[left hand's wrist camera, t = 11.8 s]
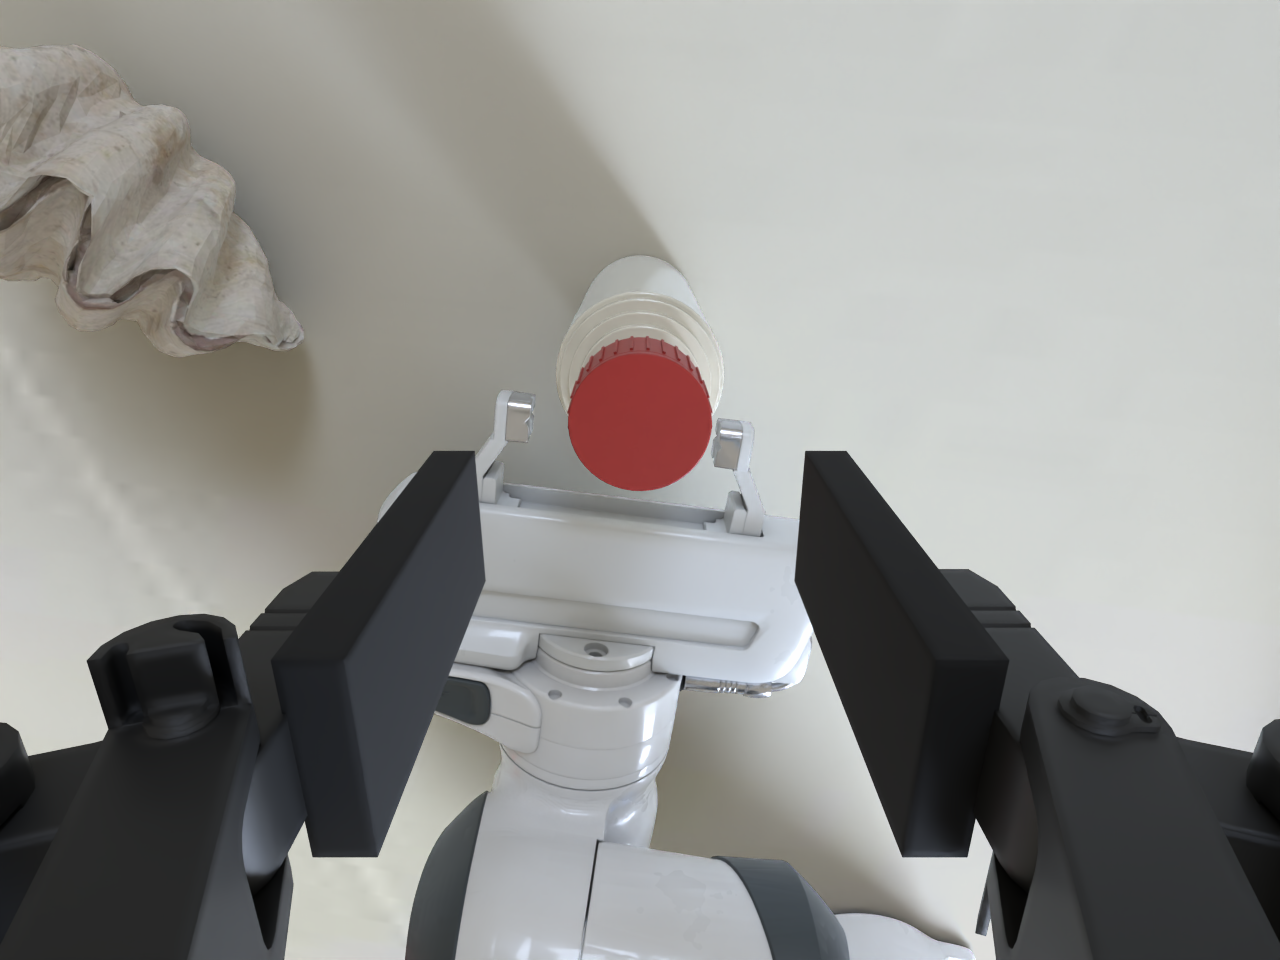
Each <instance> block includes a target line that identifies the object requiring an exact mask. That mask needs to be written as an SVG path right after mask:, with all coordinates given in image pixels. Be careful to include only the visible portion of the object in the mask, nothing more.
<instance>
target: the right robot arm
mask: <svg viewBox="0 0 1280 960" xmlns="http://www.w3.org/2000/svg"><path fill="white" fill-rule="evenodd" d="M535 400H536V395H535V394H529V393H522V392H515V391H510V390H501V392H500V393H499V395H498V396H497V401H496V406H495V418H494V432H493V433H492V434H491V436H490V437H489V438H488V440H487V441H486V443H485V444H484V445H483V447H482V448H481V449H480V451H479V452H478V454H477V455H476V456H475V461H476V473H477V485H478V496H479V508H480V520H481V531H482V543H483V555H484V567H485V578H486V581H485V584H484V587H483V589H482V592H481V594H480V597H479V599H478V602H477V604H476V607H475V610H474V612H473V615H472V617H471V620H470V622H469V625H468V627H467V630H466V633H465V635H464V638H463V640H462V643H461V645H460V648H459V650H458V653H457V656H456V658H455V661H454V663H453V666H452V668H451V671H450V673H449V676H448V679H447V681H446V684H445V686H444V689H443V691H442V694H441V696H440V699H439V702H438V704H437V707H436V709H435V712H434V714H436V715H439V716H442V717H444V718H447V719H449V720H452V721H454V722H457V723H459V724H462V725H464V726H466V727H469V728H471V729H473V730H475V731H478V732H480V733H482V734H484V735H486V736H488V737H490V738H492V739H494V740H495V741H497V742H499V745H500V750H501V763H500V764H499V766H498V769H497V771H496V773H495V776H494V780H493V785H492V789H491V792H488V791H486V792H484V793H482V794H481V795H480V796H478V797H477V798H476V799H474V800H473V801H472V802H471V803H470V804H469V805H468V806H467V807H466V808H465V809H464V810H463V811H462V812H461V813H460V814H459V815H458V816H457V817H456V818H455V819H454V820H453V821H452V822H451V823H450V824H449V825H448V826H447V827H446V828H445V830H444V831H443V832H442V834H441V835H440V837H439V838H438V840H437V842H436V843H435V845H434V847H433V849H432V851H431V853H430V855H429V857H428V859H427V862H426V864H425V867H424V869H423V872H422V875H421V878H420V881H419V884H418V888H417V891H416V895H415V899H414V903H413V907H412V912H411V917H410V923H409V930H408V937H407V946H406V956H405V960H975V957H974V954H973V952H972V951H971V950H970V949H968V948H966V947H963V946H959V945H956V944H951V943H946V942H941V941H937V940H935V939H932V938H931V937H929V936H927V935H926V934H924V933H923V932H921V931H920V930H918V929H916V928H915V927H913V926H911V925H909V924H907V923H905V922H902V921H899V920H897V919H893V918H890V917H886V916H881V915H875V914H864V913H847V914H837V915H834V914H833V912H832V911H831V910H830V908H829V907H828V906H827V904H826V903H825V902H824V900H823V899H822V898H821V897H820V896H819V894H818V893H817V892H816V891H815V890H814V889H813V888H812V887H811V885H810V884H809V883H808V882H807V881H806V880H805V879H804V878H803V877H802V876H801V875H800V874H799V873H798V872H797V871H796V870H795V869H794V868H793V867H792V866H791V865H790V864H789V863H787V862H786V861H783V860H771V859H755V858H739V857H725V856H714V857H711V858H705V857H699V856H692V855H686V854H680V853H674V852H668V851H661V850H655V849H649V846H650V842H651V838H652V834H653V829H654V824H655V819H656V814H657V806H658V793H657V786H656V781H655V778H656V776H657V774H658V772H659V771H660V769H661V767H662V765H663V764H664V761H665V759H666V756H667V753H668V750H669V744H670V740H671V735H672V729H673V724H674V719H675V713H676V708H677V703H678V696H679V691H681V690H689V691H698V692H707V693H723V692H724V693H735V694H743V696H746V697H751V698H766V697H770V695H771V692H773V691H780V690H783V689H786V688H789V687H791V686H792V685H794V684H797V683H799V682H800V681H801V679H802V678H803V676H804V674H805V671H806V667H807V664H808V660H809V656H810V652H811V648H812V637H811V634H812V632H813V627H812V625H811V622H810V620H809V617H808V615H807V612H806V610H805V607H804V604H803V602H802V599H801V597H800V594H799V592H798V589H797V587H796V584H795V581H794V578H795V567H796V555H797V543H798V531H799V520H800V519H794V518H786V517H778V516H770V515H765V510H764V507H763V504H762V502H761V499H760V496H759V493H758V491H757V488H756V485H755V483H754V480H753V477H752V475H751V472H750V469H749V463H750V458H751V453H752V448H753V443H754V428H753V426H752V424H751V422H745V421H738V420H729V419H721V418H718V420H717V423H716V428H715V431H716V435H717V436H716V437H715V438H714V439H713V444H712V450H711V455H712V458H713V463H714V466H715V467H720V468H726V469H733V472H734V475H735V478H736V480H737V483H738V485H739V488H740V491H741V494H740V493H739V492H737V491H730V492H729V493H728V498H727V503H726V508H725V510H722V509H714V508H706V507H698V506H690V505H682V504H674V503H666V502H658V501H650V500H642V499H634V498H626V497H618V496H610V495H602V494H594V493H586V492H578V491H570V490H562V489H554V488H546V487H538V486H530V485H522V484H514V483H506V482H503V479H504V463H503V462H500V461H494V460H495V459H496V458H497V456H498V455H499V453H500V452H501V451H502V449H503V448H504V447H505V445H506V444H507V442H508V441H515V442H525V443H527V442H528V440H529V438H530V435H531V433H532V431H533V423H534V415H533V413H532V411H533V410H534V407H535ZM416 473H417V472H415V473H412V474H411V475H409V476H408V477H407V478H406V479H404V480H403V481H402V482H401V483H400V484H399V485H398V486H397V487H396V488H395V489H394V490H393V491H392V492H391V493H390V494H389V495H388V497H387V498H386V500H385V501H384V503H383V505H382V507H381V509H380V511H379V515H378V520H377V523H378V522H379V520H380V519H381V518H382V517H383V515H384V514H385V513H386V512H387V510H388V509H389V508H390V506H391V505H392V504H393V503H394V501H395V500H396V499H397V497H398V496H399V495H400V494H401V492H402V491H403V490H404V488H405V487H406V486H407V485H408V483H409V482H410V481H411V479H412V478H413V477H414V476H415V474H416ZM772 682H776V683H772Z"/></svg>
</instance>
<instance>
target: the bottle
mask: <svg viewBox="0 0 1280 960" xmlns="http://www.w3.org/2000/svg"><path fill="white" fill-rule="evenodd" d="M630 336H633V337H646V336H649V338H653V339H658V340H661V339H663V340H664V342H666V343H668V344H670V345H673V346H674V347H675V345H676V346H677V347H678V349H679V350H680V351H681V352H682V353H684V354H685V355H686V356H687V355H689V356H690V360H691V362H692V363H693V364H694V366H695V367H698V368H699V371H700V374H701V377H702V380H704V381H705V384H706V387H707V390H708V393H709V396H710V398H709V401H710V404H711V408H712V411H713V413H711V415H712V416H713V414H714V412H715V410H716V408H717V406H718V404H719V401H720V398H721V395H722V390H723V384H724V363H723V358H722V353H721V350H720V347H719V344H718V342H717V340H716V338H715V336H714V333H713V331H712V329H711V327H710V325H709V323H708V321H707V319H706V318H705V316H704V314H703V312H702V310H701V308H700V306H699V304H698V302H697V300H696V298H695V296H694V294H693V292H692V290H691V288H690V286H689V284H688V282H687V281H686V279H685V278H684V276H683V275H682V274H681V273H680V272H679V271H678V270H677V269H676V268H675V267H673V266H672V265H670V264H669V263H667V262H665V261H663V260H661V259H658V258H655V257H651V256H643V255H636V256H629V257H625V258H622V259H619V260H617V261H615V262H613V263H611V264H609V265H608V266H607V267H605V268H604V269H603V270H602V271H601V272H600V273H599V274H598V275H597V276H596V278H595V279H594V280H593V282H592V284H591V285H590V287H589V289H588V291H587V293H586V295H585V297H584V299H583V301H582V303H581V305H580V307H579V309H578V311H577V313H576V315H575V317H574V319H573V321H572V323H571V325H570V327H569V329H568V331H567V333H566V335H565V337H564V340H563V342H562V344H561V347H560V350H559V354H558V357H557V364H556V384H557V391H558V394H559V398H560V401H561V404H562V406H563V408H564V411H565V412H566V414H567V411H568V408H569V405H570V402H571V398H570V396H571V393H572V390H573V387H574V384H575V381H577V380H578V377H579V374H580V371H581V368H582V367H585V366H586V364H587V363H588V362H589V359H590V356H591V355H592V356H594V355H595V354H596V353H597V352H599V351H600V350H601V348H602V347H603V346H605V347H606V346H608V345H610V344H612V343H614V342H615V340H617V339H618V340H622V339H627V338H630ZM568 415H569V414H567V416H568Z"/></svg>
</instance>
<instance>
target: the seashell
mask: <svg viewBox="0 0 1280 960" xmlns="http://www.w3.org/2000/svg"><path fill="white" fill-rule="evenodd" d="M235 196H236V182H235V181H234V179H233V177H232V176H231V174H230V173H229V172H228V171H227V170H225V169H224V168H223V167H221V166H220V165H219V164H217V163H215V162H212V161H210V160H208V159H206V158H204V157H202V156H200V155H199V154H198V153H197V152H196V151H195V150H194V148H193V147H192V146H191V131H190V127H189V123H188V120H187V117H186V116H185V115H184V114H183V112H182V111H181V110H180V109H178V108H175V107H171V106H167V105H162V104H159V105H146V106H141V105H140V104H138V103H137V102H136V101H134V99H133V97H132V95H131V93H130V91H129V89H128V87H127V85H126V84H125V83H124V81H123V80H122V78H121V77H120V76H119V74H118V73H117V71H116V70H115V69H113V68H112V67H111V66H110V65H109V64H108V63H107V62H106V61H104V60H103V59H102V58H100V57H99V56H97V55H96V54H95V53H93V52H91V51H89V50H87V49H85V48H82V47H80V46H78V45H75V44H73V45H66V46H56V45H41V46H35V47H30V48H16V49H15V48H9V47H3V46H0V279H3V280H6V281H20V280H24V281H36V280H37V279H39V278H50V279H51V280H52V281H53V282H54V283H55V284H56V285H57V286H58V287H59V288H58V291H57V294H56V297H55V301H56V304H57V308H58V311H59V313H60V314H61V316H62V317H63V318H64V319H65V320H66V322H67V323H68V324H69V325H70V326H71V327H73V328H75V329H77V330H79V331H98V330H102V329H104V328H107V327H109V326H112V325H113V324H114V323H115V322H116V321H117V320H120V319H127V320H133V321H137V322H138V324H139V326H140V328H141V330H142V332H143V333H144V334H145V335H146V337H147V338H148V339H149V340H150V342H151V343H152V344H153V345H154V346H155V347H156V348H157V349H158V350H159V351H160V352H162V353H165V354H168V355H171V356H174V357H178V358H181V357H185V356H189V355H196V354H203V353H211V352H214V351H217V350H220V349H223V348H226V347H228V346H230V345H231V344H233V343H235V342H247V343H250V344H253V345H256V346H262V347H265V348H268V349H270V350H274V351H289V350H291V349H293V348H295V347H296V346H297V345H299V344H301V343H302V341H303V339H304V330H303V328H302V326H301V324H300V323H299V322H298V321H297V320H296V318H295V315H294V313H293V312H292V311H291V310H290V309H289V308H288V307H287V306H286V304H285V303H283V302H281V301H279V300H278V297H277V295H276V293H275V291H274V286H273V282H272V278H271V275H270V272H269V264H268V260H267V258H266V256H265V254H264V252H263V250H262V248H261V247H260V245H259V243H258V241H257V239H256V237H255V236H254V234H253V232H252V231H251V229H250V227H249V226H248V225H247V224H246V223H245V222H244V221H243V220H242V219H241V218H240V217H239V216H238V215H236V214H235V213H234V212H233V207H234V202H235Z"/></svg>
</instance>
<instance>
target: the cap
mask: <svg viewBox="0 0 1280 960" xmlns="http://www.w3.org/2000/svg"><path fill="white" fill-rule="evenodd" d="M570 398H571V402H570V405H569V408H568V411H567V414H569V415H568V429H569V436H570V439H571V443H572V446H573V448H574V450H575V452H576V454H577V456H578V458H579V459H580V461H581V462H582V463H583V465H584V466H585V467H586V468H587V469H588V470H589V471H590V472H591V473H592V474H594V475H595V476H596V477H597V478H599V479H600V480H602V481H604V482H606V483H608V484H610V485H612V486H615V487H618V488H621V489H626V490H632V491H647V490H654V489H659V488H662V487H665V486H668V485H670V484H672V483H674V482H676V481H678V480H679V479H681V478H683V477H684V476H685V475H686V474H688V473H689V472H690V471H691V470H692V469H693V468H694V467H695V466H696V465H697V463H698V462H699V461H700V459H701V458H702V456H703V454H704V452H705V450H706V448H707V445H708V443H709V440H710V435H711V429H712V415H711V413H713V411H712V408H711V404H710V401H709V398H710V396H709V393H708V390H707V387H706V384H705V381H704V380H702V377H701V374H700V371H699V368H698V367H695V366H694V364H693V363H692V362H691V360H690V356H689V355H687V356H686V355H685V354H684V353H682V352H681V351H680V350H679V349H678V347H677V346H676V345H675V347H674V346H673V345H670V344H668V343H666V342H664V340H663V339H661V340H658V339H653V338H649V336H646V337H633V336H630V338H627V339H622V340H618V339H617V340H615V342H614V343H612V344H610V345H608V346H606V347H605V346H603V347H602V348H601V350H600V351H599V352H597V353H596V354H595V355H594V356H592V355H591V356H590V359H589V362H588V363H587V364H586V366H585V367H582V368H581V371H580V374H579V377H578V380H577V381H575V384H574V387H573V390H572V393H571V396H570Z"/></svg>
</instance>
